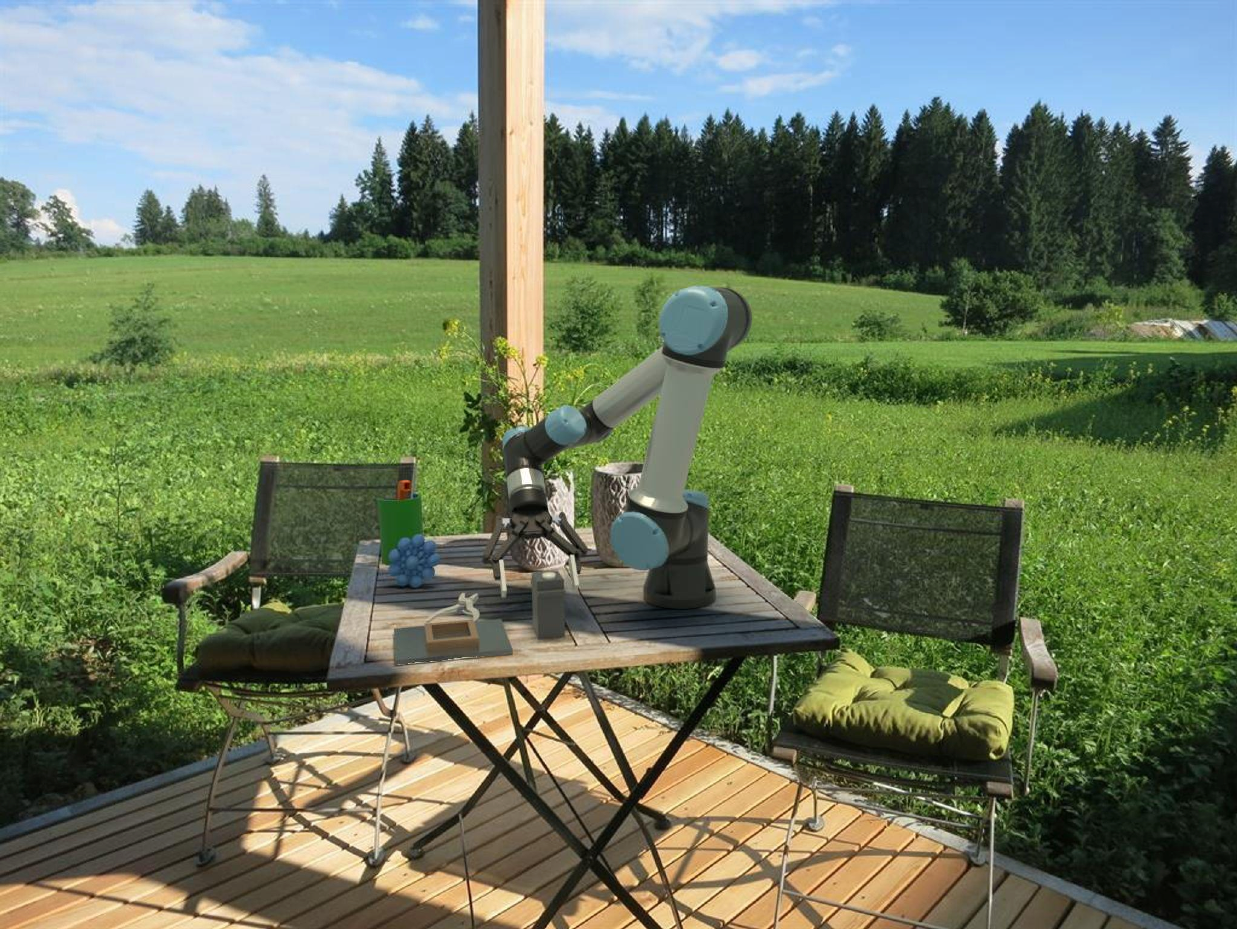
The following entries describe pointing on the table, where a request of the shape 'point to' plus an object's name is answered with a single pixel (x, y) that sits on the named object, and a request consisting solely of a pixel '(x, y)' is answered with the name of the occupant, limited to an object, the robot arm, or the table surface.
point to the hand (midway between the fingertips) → (540, 591)
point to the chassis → (451, 641)
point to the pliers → (462, 603)
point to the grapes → (413, 561)
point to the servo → (548, 604)
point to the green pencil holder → (399, 519)
